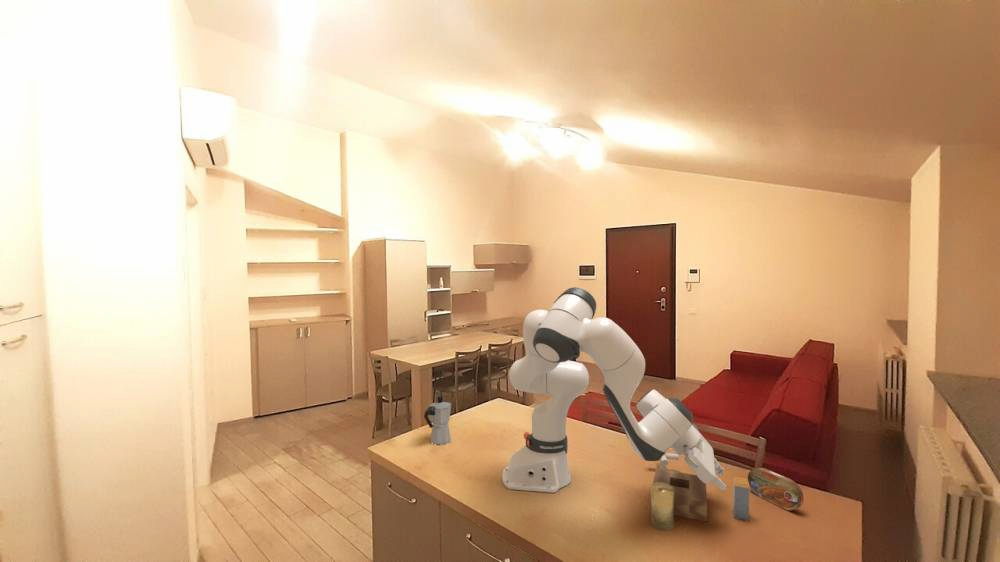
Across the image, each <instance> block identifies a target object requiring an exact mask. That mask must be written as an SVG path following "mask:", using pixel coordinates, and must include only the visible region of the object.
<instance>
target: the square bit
mask: <svg viewBox="0 0 1000 562" xmlns="http://www.w3.org/2000/svg"><path fill="white" fill-rule="evenodd" d="M732 503H733V505H732V506H733V511H732V512H733V516H734V517H733V519H736V518H737V520H741V521H747V522H750V486H749V481H748V478H744V477H739V476H733V502H732Z"/></svg>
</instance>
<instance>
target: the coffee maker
mask: <svg viewBox="0 0 1000 562" xmlns="http://www.w3.org/2000/svg"><path fill="white" fill-rule="evenodd" d="M443 398H444V396H443V395H439V396H437V398H436V399H437V402H432V403H431V404H430V405H428V408H427V409H425V411H424V415H423V417H424V419H425V421H426V423H427V425H428V426H429V428H430V429H431V433H430V440H431V443H433V444H432V445H434V444H436V445H435V446H438V445H437V444H446V443H448V442H450V441H451V442H452V439H451V432H450V425H449V421H450V419H451V410H452V402H447V401H446V402H445V401H443V400H444V399H443ZM429 416H430V418H429ZM451 442H450V443H451ZM431 443H430V444H431ZM448 444H449V443H448ZM446 445H447V444H446Z"/></svg>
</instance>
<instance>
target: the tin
mask: <svg viewBox="0 0 1000 562" xmlns="http://www.w3.org/2000/svg"><path fill="white" fill-rule="evenodd" d="M747 479H748V481H749V489H751V491H752V492H753V493H754V494H755V496H757V497H759V498H760V499H762V500H765V501H766V502H769V503H771V504H773V505H774V506H777V507H779V508H781V509H783V510H786V511H795V510H796V509H799V508H801V507H802V506H803V504H804V493H803V491H802V488H801V487H800V486H799V484H798V483H797V482H795V481H794V480H793V479H791V478H789V477H786V476H784V475H781V474H779V473H777V472H774V471H772V470H770V469H767V468H765V467H758V468H753V469H750V471H749V472H748V473H747Z"/></svg>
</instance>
